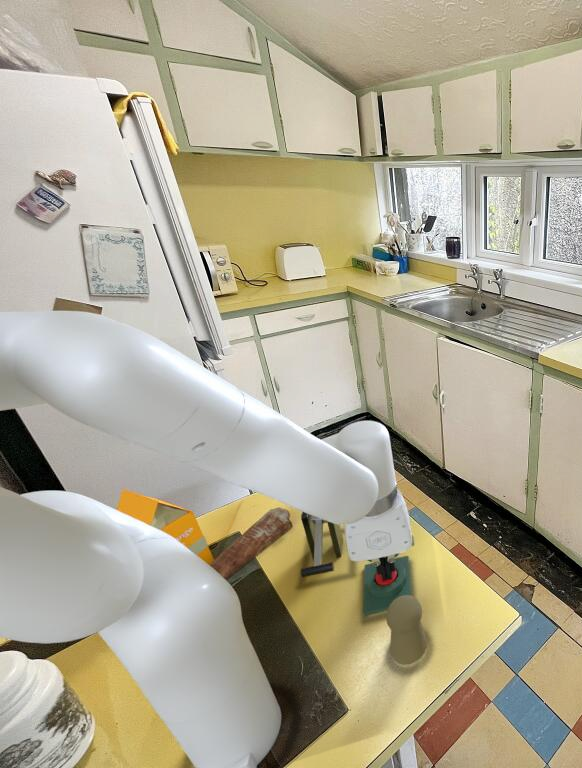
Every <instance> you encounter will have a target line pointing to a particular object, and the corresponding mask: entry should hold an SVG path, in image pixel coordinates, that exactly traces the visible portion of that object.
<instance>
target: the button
mask: <svg viewBox="0 0 582 768" xmlns="http://www.w3.org/2000/svg"><path fill="white" fill-rule="evenodd" d="M396 579H397V573H396V570H395V571H393V572H392V579H391V580H389V579H387V580H386V581H382V576H381V574H380V575H378V574H376V583H377V585H379V586H387V585H390V584H392V583H393V582H394V581H395V580H396Z"/></svg>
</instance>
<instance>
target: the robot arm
mask: <svg viewBox="0 0 582 768" xmlns="http://www.w3.org/2000/svg"><path fill="white" fill-rule="evenodd" d="M43 404H48V405H50V406H51V407H52V408H54V409H55V410H56V411H58V412H59V413H61V414H63V415H65V416H66V417H69V418H70V419H72V420H75V421H76V422H78V423H81V424H83V425H86V426H88V427H90V428H93V429H95V430H97V431H100V432H103V433H105V434H108V435H111V436H113V437H116V438H119V439H121V440H123V441H126V442H128V443H131V444H134V445H137V446H140V447H143V448H146V449H148V450H150V451H153V452H156V453H158V454H161V455H164V456H166V457H168V458H171V459H172V460H173V459H174V460H176V461H178V462H181V463H183V464H185V465H188V466H191V467H193V468H196V469H198V470H201V471H203V472H205V473H208V474H211V475H212V476H214V477H216V478H219V479H221V480H223V481H226V482H228V483H229V484H232V485H235V486H238V487H240V488H242V489H246V490H249V491H251V492H255V493H257V494H260V495H261V496H265V497H267V498H269V499H272V500H275V501H277V502H279V503H281V504H284V505H286V506H289V507H291V508H293V509H295V510H298V511H300V512H305V513H307V514H310V515H312V516H315V517H318V518H320V519H323V520H326V521H328V522H331V523H334V524H337V525H340V526H343V528H344V536H345V537H344V538H345V543H346V550H347V554H348V558H349V560H350V561H352V562H357V563H359V562H365V561H367V562H370V563H371V564H372V563H373V565H374V566H376V569H377V574H378V575H380V574H381V576H382V581H386V580H387V579H389V580H391V579H392V572H393V571H395V558H398V556H399V555H400V554H402V553H405V552H407V551H409V550H410V549H411V548H412V547H414V546H415V537H414V536H413V533H412V528H411V527H412V525H411V519H410V514H409V511H408V507H407V503H406V501H405V498H404V496H403V494H402V492H401V491H400V490H399V489H398V484H397V478H396V472H395V465H394V464H395V463H394V457H393V452H392V445H391V444H392V443H391V438H390V433H389V431H388V429H387V428H386V426H385V425H384V424H382V423H381V422H378V421H375V420H360V421H356V422H352V423H349V424H348V425H346V426H345V427H343V428H342V429H340V431H339V432H338V433H335V434H332V435H330V436H327V437H324V438H319V437H317V436H315V435H313V434H312V433H310V432H309V431H307V430H305V429H304V428H302V427H301V426H300V425H298V424H296V423H295V422H293V421H292V420H291V419H289V418H288V417H286V416H284V415H283V414H281V413H280V412H278V411H277V410H275V409H274V408H272V407H270V406H268V405H267V404H265V403H264V402H262V401H260V400H258V399H257V398H255V397H254V396H252V395H250V394H248V393H247V392H245V391H244V390H242V389H240V388H238V387H237V386H235V385H234V384H232V383H230V382H228V381H227V380H226V379H224V378H222V377H220V376H219V375H217V374H216V373H214V372H213V371H211V370H209V369H208V368H206V367H204V366H203V365H202V364H200V363H198V362H196V361H195V360H194V359H192V358H190V357H189V356H187V355H185V354H184V353H182V352H181V351H179V350H177V349H176V348H174V347H173V346H170V345H169V344H168V343H166V342H164V341H162V340H161V339H159V338H158V337H156V336H154V335H152V334H149V333H148V332H146V331H144V330H141V329H139V328H137V327H134V326H131V325H130V324H126V323H124V322H122V321H118V320H116V319H114V318H110V317H108V316H105V315H102V314H99V313H94V312H89V311H81V310H19V311H16V310H15V311H13V310H12V311H0V412H1V411H8V410H15V409H20V408H21V409H22V408H27V407H32V406H37V405H38V406H39V405H43ZM97 633H98V635H99V636H100V637H101V639H102V640H103V641H104V642H105V643H106V645H107V646H108V648H109V649H110V650H111V652H113V654H114V655H115V657H117V659H118V660H119V661H120V664H122V666H123V668H124V669H125V670H126V672H127V673H128V674H129V675H130V677H131V678H132V679H133V681H134V682H135V683H136V685H137V686H138V688H139V690H140V691H141V692H142V694H143V695H144V697H145V698H146V699H147V701H148V702H149V704H150V705H151V707H152V709H153V710H154V711H155V713H156V715H158V717H159V718H160V720H161V721H162V722H163V723H164V725H165V726H166V727H167V729H168V730H169V732H170V733H171V735H172V736H173V738H174V739H175V740H176V742H177V743H178V745H179V746H180V748H181V749H182V750H183V752H184V753H185V755H186V756H187V757H188V759H189V760H190V762H191V764H192V765H193V766H194V768H258V765H259V764H260V763H261V762H262V761H263V760H264V759H265V757H266V756H267V755H268V753H270V750H272V748H273V746H274V744H275V742H276V740H277V738H278V736H279V733H280V730H281V726H282V716H283V715H282V711H281V707H280V704H279V703H278V700H277V698H276V696H275V693H274V691H273V688H272V687H271V684H270V681H269V680H268V678H267V675H266V673H265V670H264V668H263V666H262V664H261V661H260V660H259V656H258V655H257V653H256V650H255V648H254V646H253V644H252V642H251V639H250V637H249V635H248V633H247V630H246V627H245V624H244V621H243V614H242V607H241V602H240V599H239V596H238V594H237V592H236V591H235V589H234V587H233V586H232V585H231V583H230V582H228V580H225V579H224V578H223V577H222V576H221V575H220V574H219V573H218V572H217V571H216V570H214V569H213V568H212V567H211V566H209V565H208V564H207V563H206V562H204V561H203V560H202V559H201V558H200V557H198V556H196V555H195V554H194V553H193V552H191V551H190V550H189V549H188V548H187V547H185V546H184V545H183V544H182V543H180V542H179V541H178V540H176V539H175V538H173V537H172V536H170V535H168V534H167V533H165V532H163V531H161V530H159V529H156V528H154V527H152V526H150V525H148V524H146V523H144V522H141V521H139V520H137V519H135V518H133V517H130V516H128V515H126V514H124V513H122V512H120V511H117V510H116V509H115V508H113V507H111V506H110V505H109V506H108V505H107V504H104V503H102V502H100V501H98V500H96V499H94V498H91V497H89V496H86V495H84V494H80V493H77V492H71V491H67V490H66V491H65V490H38V491H31V492H26V493H22V494H20V493H17V492H14V491H12V490H9V489H7V488H4V487H1V486H0V638H1V639H6V640H12V641H15V642H20V643H21V642H22V643H31V644H46V645H47V644H57V643H58V644H59V643H67V642H72V641H77V640H80V639H84V638H87V637H90V636H92V635H94V634H97Z"/></svg>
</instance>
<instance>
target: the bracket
mask: <svg viewBox="0 0 582 768" xmlns="http://www.w3.org/2000/svg"><path fill="white" fill-rule="evenodd" d="M301 512H302V511H301ZM311 518H312V515H310V514H307V513H305V512H302V513H301V515H300V520H301V524H302V527H303V529H304V533H305V537H306V540H307V544H308V547H309V551H310V554H311V558H312V562H313V563H314V547H315V525H314V523H313V522H312V520H311ZM327 528H328V530H329V535H330V538H331V543H332V547H333V552H334V555H335V558H336V559H337V558H341V557H342V556H343V545H344V538H343V533H342V529H341V525H337V524H334V523H331V522H328V521H327Z"/></svg>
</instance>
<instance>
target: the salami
mask: <svg viewBox="0 0 582 768" xmlns="http://www.w3.org/2000/svg"><path fill="white" fill-rule="evenodd" d="M290 517H291V513H290V511H289V510H288V509H286V508H281V507H276V508H271V509H270V510H268V511H267V512H266V513H265V514H263V516H261V517H260V518H259V519H258V520H257V521H256V522H254V523H253V524H252V525H251V526H250V527H249V528H248V529H247V530H246V531H245V532H243V533H242V534H241V535H240V536H239V537H237V538H236V539H235V540H234V541H233V542H232V543H231V544H230V545H229V546H227V548H226V549H224V551H222V552H221V553H220V554H219V555H218V556H217V557H216V558H215V559H214V561H213V562H212V563H211V564H210V565H209V566H211V567H212V568H213V569H214V570H216V571H217V572H218V573H219V574H220V575H221V576H222V577H223V578H224V579H225V580H226V581H228V580H229V579H230V578H231V577H233V576H234V575H235V574H236V573H238V572H239V571H240V570H242V568H244V567H245V566H246V565H247V564H249V562H251V561H252V560H254V559H255V558H256V557H257V556H258V555H259V554H261V553H262V552H263V551H264V550H266V549H267V548H268V547H270V545H272V544H273V543H274V542H276V541H277V540H278V539H280V538H281V537H282V536H284V534H286V533H287V532H288V531H289V530H291V529H292V528H293V523H292V520H290Z"/></svg>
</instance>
